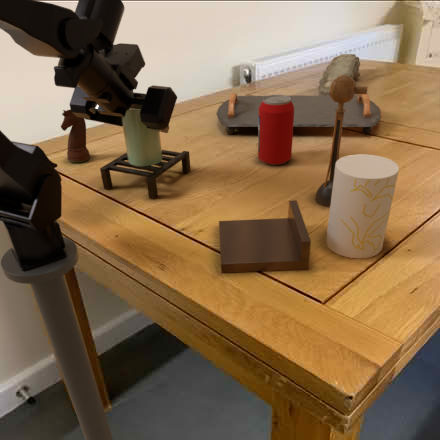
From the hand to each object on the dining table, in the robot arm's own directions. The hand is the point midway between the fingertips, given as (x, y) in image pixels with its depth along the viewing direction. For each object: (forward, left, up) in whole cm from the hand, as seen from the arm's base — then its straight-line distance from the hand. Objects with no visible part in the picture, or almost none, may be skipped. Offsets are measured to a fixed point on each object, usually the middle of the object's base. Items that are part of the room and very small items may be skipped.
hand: (146, 127), depth 85 cm
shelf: (+2, -33, -9) cm, 34 cm away
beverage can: (+24, -8, -10) cm, 27 cm away
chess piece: (-8, +17, -4) cm, 20 cm away
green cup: (-1, -1, -5) cm, 6 cm away
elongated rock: (+73, +25, -5) cm, 77 cm away
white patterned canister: (+14, -40, -10) cm, 43 cm away
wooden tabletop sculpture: (+21, -28, -10) cm, 36 cm away
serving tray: (+43, +8, -10) cm, 45 cm away
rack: (-1, -1, -9) cm, 10 cm away
